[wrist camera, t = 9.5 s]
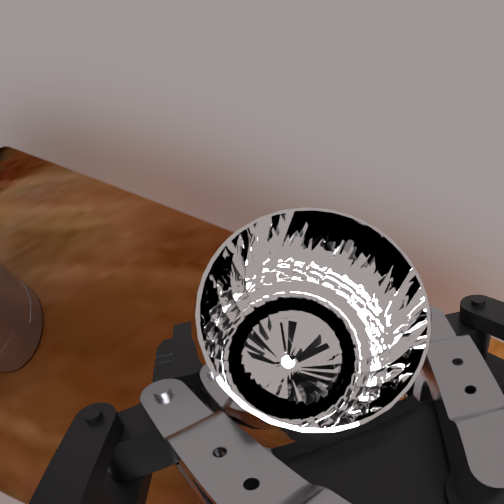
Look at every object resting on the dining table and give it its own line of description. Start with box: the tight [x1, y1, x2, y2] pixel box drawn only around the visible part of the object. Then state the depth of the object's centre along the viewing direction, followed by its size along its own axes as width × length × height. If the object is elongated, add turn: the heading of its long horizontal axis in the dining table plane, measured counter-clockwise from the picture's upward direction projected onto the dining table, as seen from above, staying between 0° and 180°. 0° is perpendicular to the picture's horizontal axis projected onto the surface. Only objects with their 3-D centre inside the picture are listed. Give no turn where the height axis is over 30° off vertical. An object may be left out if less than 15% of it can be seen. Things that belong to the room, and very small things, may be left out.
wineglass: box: [190, 208, 431, 449], centre depth 11 cm, size 6×6×12 cm
